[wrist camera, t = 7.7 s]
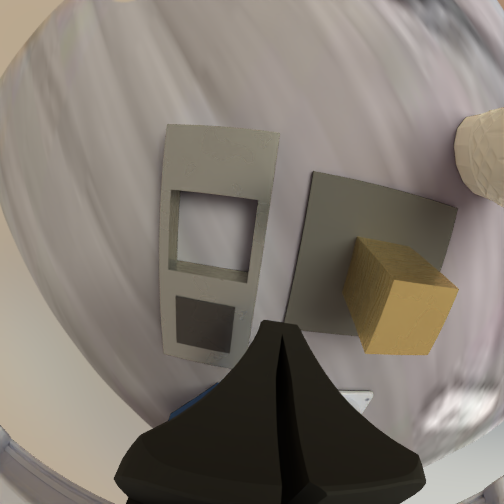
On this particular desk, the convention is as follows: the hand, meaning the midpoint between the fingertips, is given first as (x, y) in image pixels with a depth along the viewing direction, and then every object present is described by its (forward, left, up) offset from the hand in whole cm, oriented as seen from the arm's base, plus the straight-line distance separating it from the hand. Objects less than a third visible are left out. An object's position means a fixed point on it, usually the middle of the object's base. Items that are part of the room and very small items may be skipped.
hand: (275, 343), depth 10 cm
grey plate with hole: (-1, +5, -10) cm, 11 cm away
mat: (0, -7, -10) cm, 12 cm away
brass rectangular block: (0, -7, -10) cm, 12 cm away
